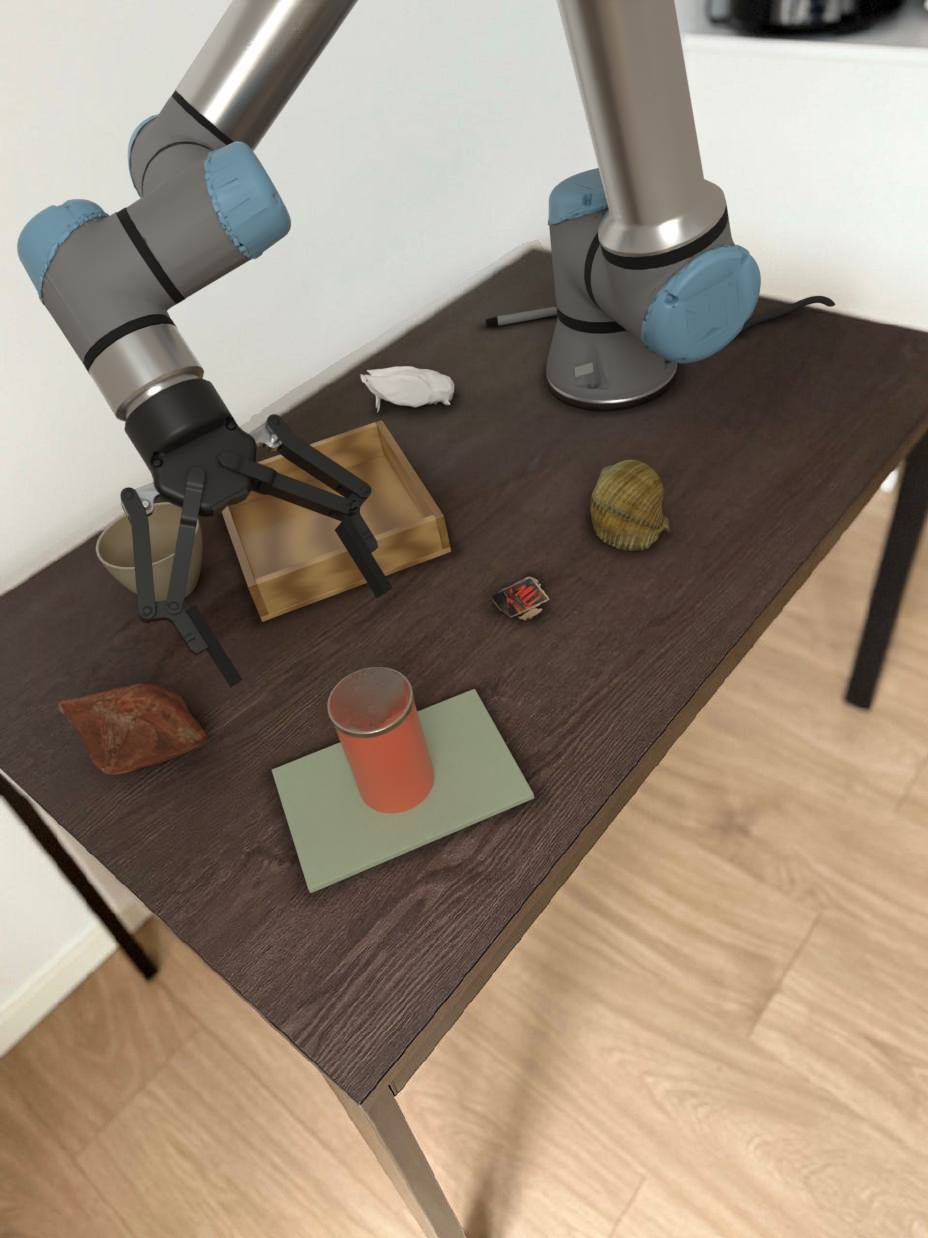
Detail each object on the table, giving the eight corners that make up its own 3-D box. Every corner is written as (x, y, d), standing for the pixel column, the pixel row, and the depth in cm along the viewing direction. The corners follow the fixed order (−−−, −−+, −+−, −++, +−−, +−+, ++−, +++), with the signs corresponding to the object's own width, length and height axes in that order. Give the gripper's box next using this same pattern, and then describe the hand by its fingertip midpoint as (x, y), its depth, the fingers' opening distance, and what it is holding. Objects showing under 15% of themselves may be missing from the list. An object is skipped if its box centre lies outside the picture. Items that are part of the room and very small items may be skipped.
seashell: (659, 569, 94) (706, 501, 91) (624, 567, 89) (672, 494, 85) (591, 513, 99) (633, 447, 96) (554, 508, 93) (597, 438, 90)
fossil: (231, 733, 77) (122, 676, 71) (174, 823, 76) (59, 773, 70) (189, 690, 87) (92, 638, 82) (138, 769, 86) (36, 722, 81)
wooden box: (390, 454, 108) (381, 419, 105) (451, 551, 94) (444, 515, 91) (223, 511, 105) (209, 478, 101) (262, 622, 91) (247, 587, 88)
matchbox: (486, 602, 88) (486, 598, 88) (527, 574, 90) (526, 570, 90) (520, 626, 85) (520, 623, 85) (561, 596, 87) (561, 593, 87)
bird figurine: (380, 432, 114) (457, 404, 111) (355, 380, 110) (435, 350, 108) (386, 416, 118) (460, 389, 115) (362, 366, 114) (439, 337, 112)
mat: (475, 692, 81) (474, 688, 80) (534, 798, 72) (533, 794, 72) (273, 773, 78) (271, 769, 77) (310, 894, 69) (308, 889, 69)
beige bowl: (199, 624, 92) (172, 569, 87) (108, 620, 94) (77, 567, 89) (236, 556, 99) (213, 501, 94) (150, 553, 101) (123, 500, 96)
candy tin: (420, 738, 77) (396, 655, 70) (447, 795, 73) (424, 712, 66) (348, 767, 76) (317, 685, 69) (371, 827, 72) (340, 746, 65)
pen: (486, 325, 126) (484, 316, 125) (609, 303, 125) (609, 294, 124) (487, 330, 125) (485, 320, 124) (611, 308, 124) (611, 298, 123)
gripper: (296, 353, 81) (428, 567, 82) (15, 489, 72) (167, 727, 73) (311, 314, 74) (455, 549, 75) (1, 459, 65) (170, 722, 66)
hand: (313, 637), depth 74 cm, fingers open, 13 cm apart
